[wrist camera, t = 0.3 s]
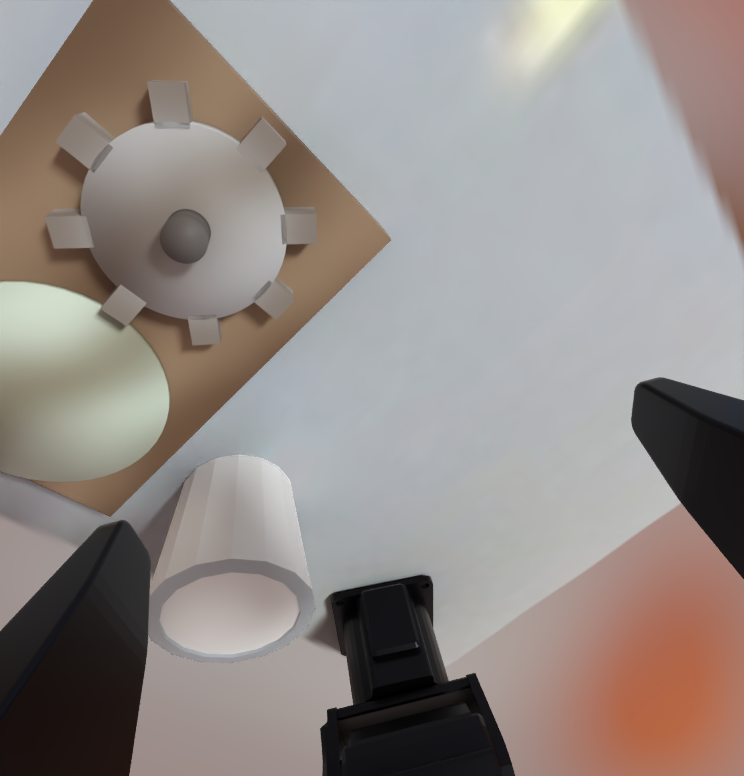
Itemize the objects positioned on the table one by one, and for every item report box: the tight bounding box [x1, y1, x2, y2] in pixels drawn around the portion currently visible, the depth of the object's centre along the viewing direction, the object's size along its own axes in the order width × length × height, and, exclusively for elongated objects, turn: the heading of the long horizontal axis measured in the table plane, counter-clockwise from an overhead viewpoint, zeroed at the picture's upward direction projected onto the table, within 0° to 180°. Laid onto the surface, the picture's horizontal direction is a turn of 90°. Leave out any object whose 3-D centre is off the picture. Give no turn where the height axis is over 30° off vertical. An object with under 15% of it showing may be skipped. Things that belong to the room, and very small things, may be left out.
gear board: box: [0, 0, 391, 516], centre depth 19 cm, size 11×18×4 cm, turn 133°
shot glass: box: [148, 454, 315, 663], centre depth 24 cm, size 7×7×7 cm
